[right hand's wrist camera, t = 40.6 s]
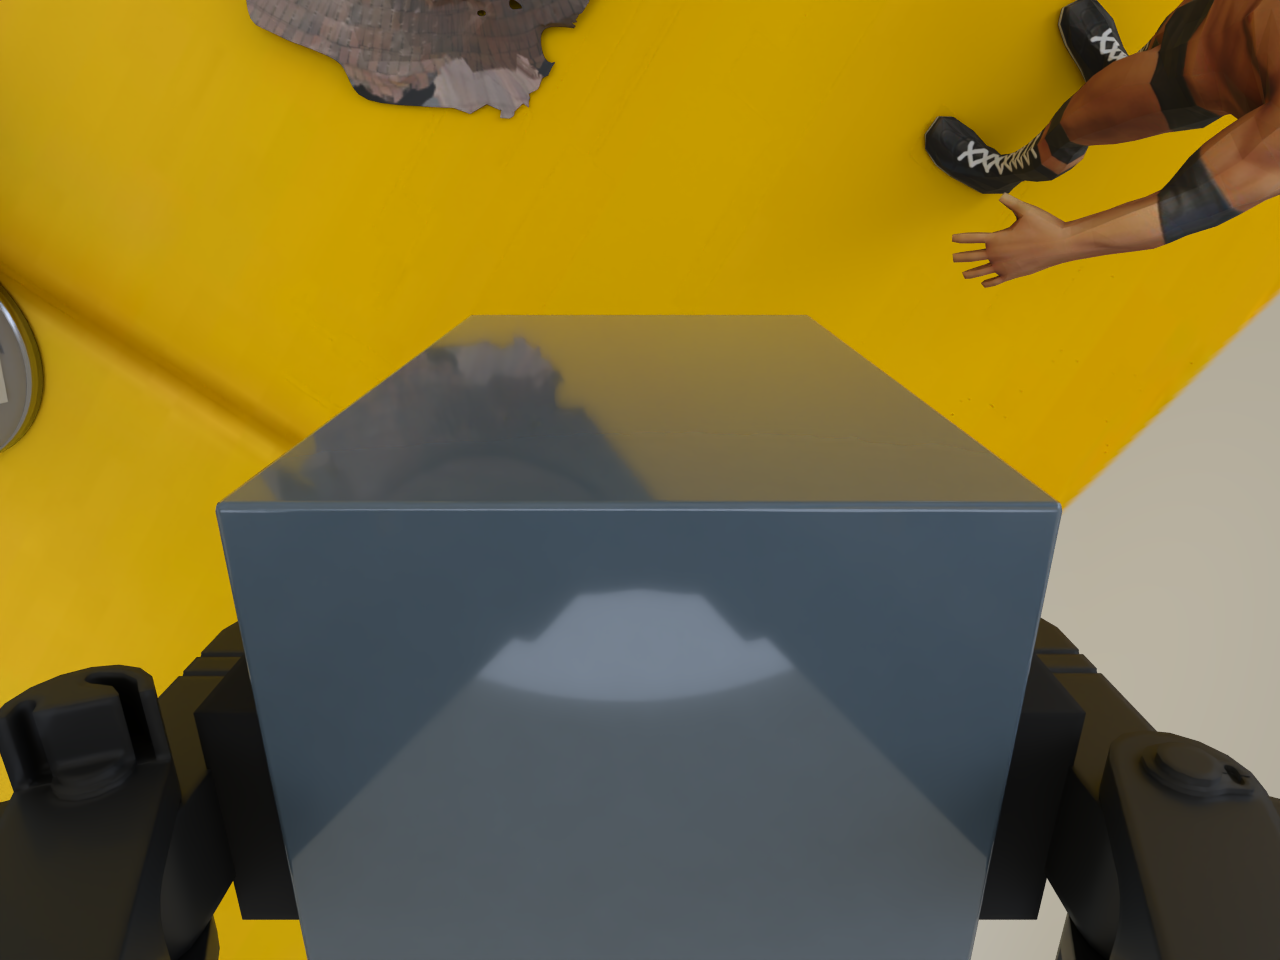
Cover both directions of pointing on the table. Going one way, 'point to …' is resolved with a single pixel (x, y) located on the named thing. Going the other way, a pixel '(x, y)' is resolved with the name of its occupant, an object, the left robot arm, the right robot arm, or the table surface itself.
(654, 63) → the table surface
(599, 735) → the block
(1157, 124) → the figurine
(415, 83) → the sculpture
